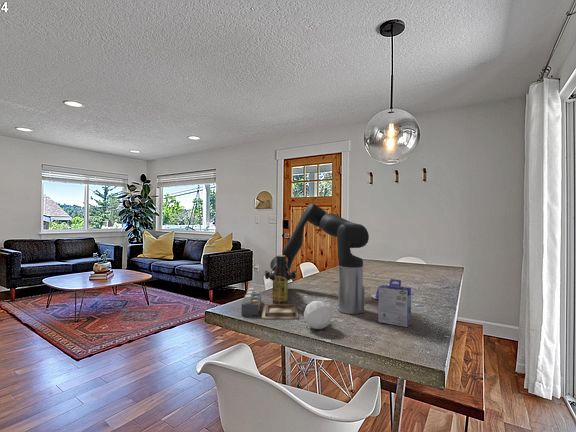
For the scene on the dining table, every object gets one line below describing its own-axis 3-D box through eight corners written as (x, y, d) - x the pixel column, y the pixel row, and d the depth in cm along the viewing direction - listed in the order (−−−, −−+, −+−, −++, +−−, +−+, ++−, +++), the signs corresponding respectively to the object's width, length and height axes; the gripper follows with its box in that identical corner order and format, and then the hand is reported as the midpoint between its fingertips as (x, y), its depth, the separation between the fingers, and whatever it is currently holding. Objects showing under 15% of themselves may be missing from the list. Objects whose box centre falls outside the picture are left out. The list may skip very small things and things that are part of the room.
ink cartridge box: (411, 323, 107) (411, 280, 107) (408, 328, 102) (408, 283, 102) (382, 318, 112) (382, 277, 112) (377, 322, 107) (378, 280, 108)
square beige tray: (296, 307, 124) (296, 303, 124) (298, 319, 110) (298, 313, 110) (263, 307, 124) (263, 303, 124) (261, 319, 110) (261, 313, 110)
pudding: (382, 294, 150) (382, 283, 150) (404, 299, 140) (404, 287, 140) (365, 297, 143) (365, 286, 143) (387, 303, 133) (387, 291, 133)
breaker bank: (261, 302, 132) (261, 287, 132) (258, 315, 114) (259, 297, 114) (246, 302, 132) (246, 287, 132) (241, 315, 114) (241, 297, 114)
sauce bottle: (269, 304, 129) (269, 256, 129) (276, 300, 134) (275, 254, 134) (284, 306, 126) (284, 256, 126) (290, 302, 132) (290, 255, 132)
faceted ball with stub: (333, 329, 95) (336, 321, 107) (324, 298, 97) (329, 294, 109) (306, 335, 97) (312, 327, 108) (298, 306, 99) (305, 301, 110)
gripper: (264, 263, 145) (262, 268, 128) (296, 263, 145) (298, 268, 128) (264, 279, 144) (262, 287, 128) (296, 279, 145) (298, 287, 128)
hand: (280, 278), depth 128 cm, fingers closed on sauce bottle, 6 cm apart
